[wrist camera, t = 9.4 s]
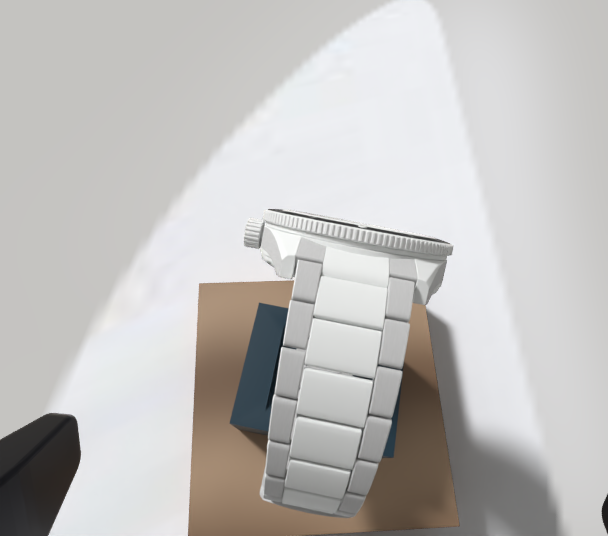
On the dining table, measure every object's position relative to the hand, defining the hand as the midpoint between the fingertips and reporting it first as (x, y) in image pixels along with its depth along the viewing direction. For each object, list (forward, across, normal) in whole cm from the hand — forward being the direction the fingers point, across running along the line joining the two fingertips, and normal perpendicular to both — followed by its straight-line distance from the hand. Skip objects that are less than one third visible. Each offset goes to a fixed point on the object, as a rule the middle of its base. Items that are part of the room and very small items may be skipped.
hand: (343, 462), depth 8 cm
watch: (+10, 0, +6) cm, 12 cm away
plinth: (+11, 0, +8) cm, 14 cm away
